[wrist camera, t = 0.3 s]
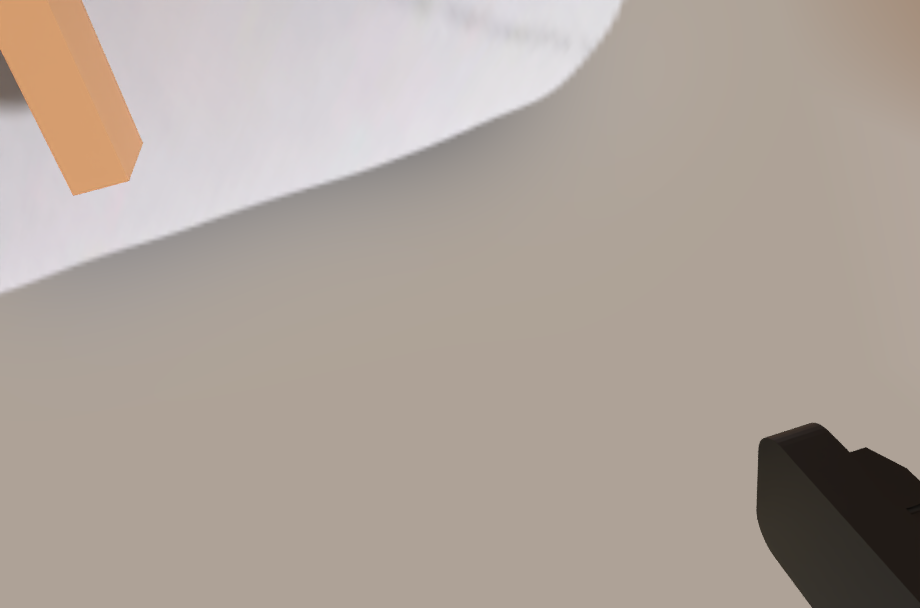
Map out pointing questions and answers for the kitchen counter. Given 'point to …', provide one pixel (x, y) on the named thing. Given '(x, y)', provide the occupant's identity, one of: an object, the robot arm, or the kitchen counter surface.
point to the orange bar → (70, 91)
